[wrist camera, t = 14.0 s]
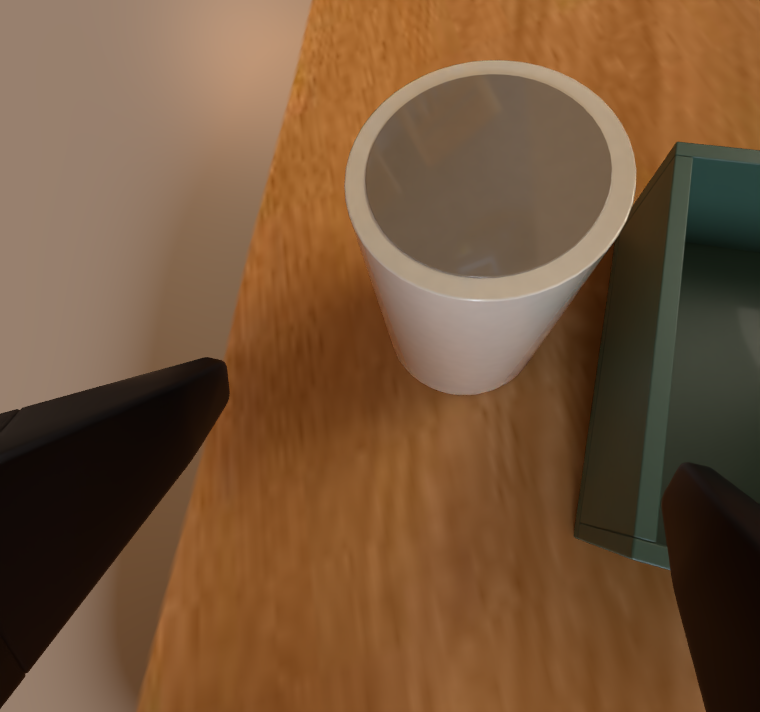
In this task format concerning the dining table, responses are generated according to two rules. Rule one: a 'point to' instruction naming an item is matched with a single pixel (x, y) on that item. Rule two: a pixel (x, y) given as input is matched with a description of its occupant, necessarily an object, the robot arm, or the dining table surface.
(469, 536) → the dining table surface
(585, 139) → the cream hollow round container
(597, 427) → the chest
